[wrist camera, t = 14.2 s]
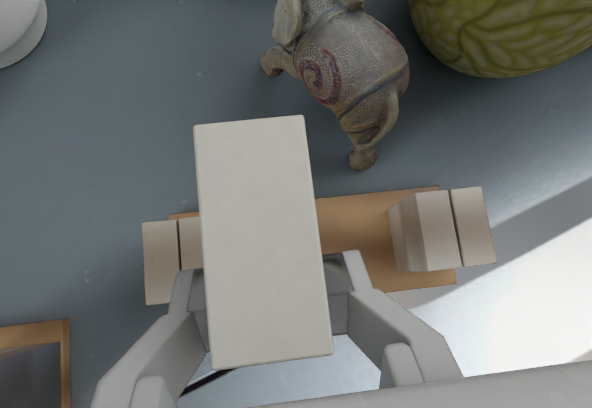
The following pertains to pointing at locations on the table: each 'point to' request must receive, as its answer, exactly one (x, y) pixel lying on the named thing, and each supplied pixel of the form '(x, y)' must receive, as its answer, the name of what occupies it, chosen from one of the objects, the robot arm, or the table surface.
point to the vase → (20, 28)
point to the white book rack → (356, 238)
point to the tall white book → (260, 243)
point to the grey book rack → (35, 365)
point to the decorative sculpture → (503, 33)
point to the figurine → (342, 66)
